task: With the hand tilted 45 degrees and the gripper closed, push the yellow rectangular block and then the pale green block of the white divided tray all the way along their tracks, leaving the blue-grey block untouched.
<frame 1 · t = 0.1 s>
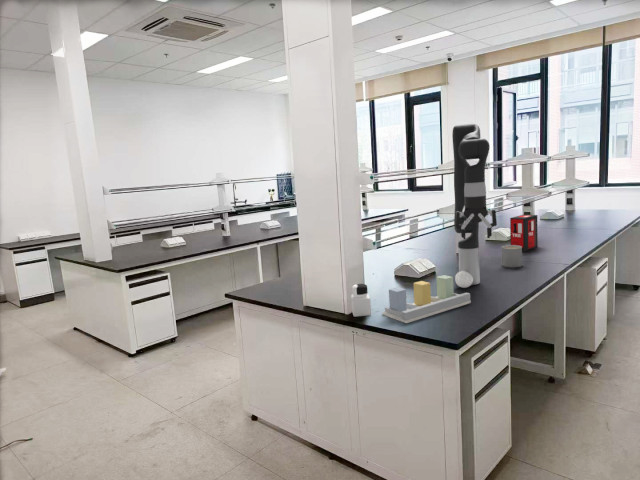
hand: (476, 238, 169), 29 cm above the worktop, tool pointing down, fingers open, 8 cm apart
yellow rectangular block: (422, 293, 185), point 6 cm above the worktop, slide at 0.0 cm
pale green block: (445, 287, 191), point 6 cm above the worktop, slide at 0.0 cm
cleaning product box: (524, 248, 283), on the worktop
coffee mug: (513, 264, 244), on the worktop
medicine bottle: (361, 313, 185), on the worktop
blue-grey block: (397, 300, 179), point 6 cm above the worktop, slide at 0.0 cm
crumpled paper ball: (463, 287, 209), on the worktop
white divided tray: (427, 308, 184), on the worktop
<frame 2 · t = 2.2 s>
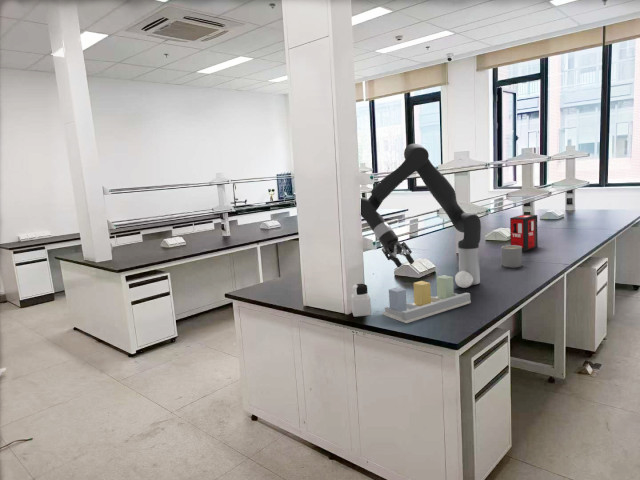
hand: (406, 264, 192), 17 cm above the worktop, tool tilted 45°, fingers open, 8 cm apart
nothing on the worktop moved.
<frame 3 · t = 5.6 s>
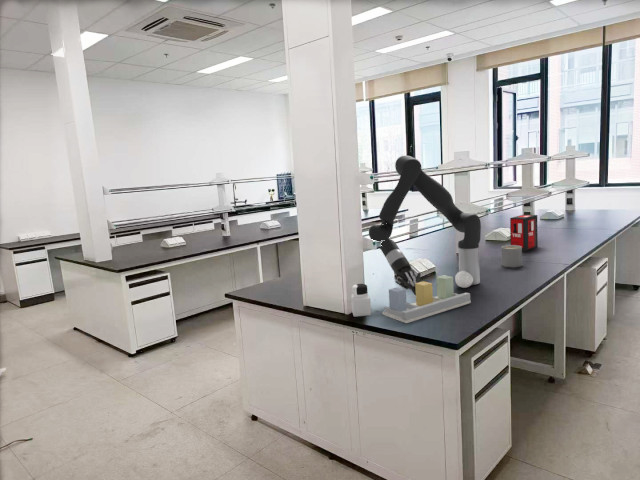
hand: (419, 294, 187), 5 cm above the worktop, tool tilted 45°, fingers closed
yellow rectangular block: (424, 294, 184), point 6 cm above the worktop, slide at 1.1 cm, touching gripper
everything else where it was.
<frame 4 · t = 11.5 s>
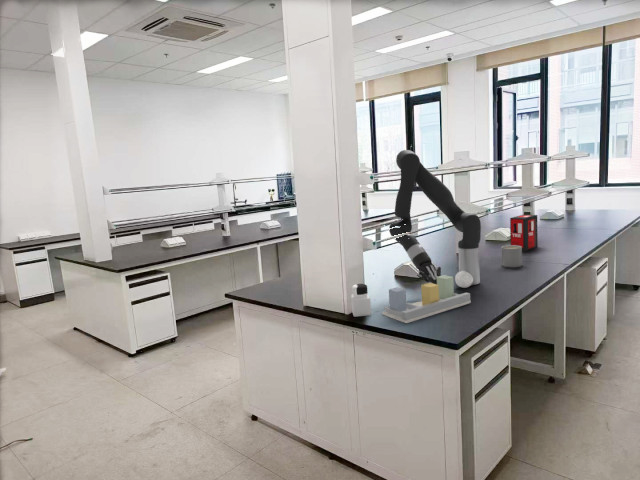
hand: (440, 288, 194), 5 cm above the worktop, tool tilted 45°, fingers closed
yellow rectangular block: (430, 295, 181), point 6 cm above the worktop, slide at 4.6 cm
pale green block: (445, 287, 191), point 6 cm above the worktop, slide at 0.1 cm, touching gripper
everything else where it was.
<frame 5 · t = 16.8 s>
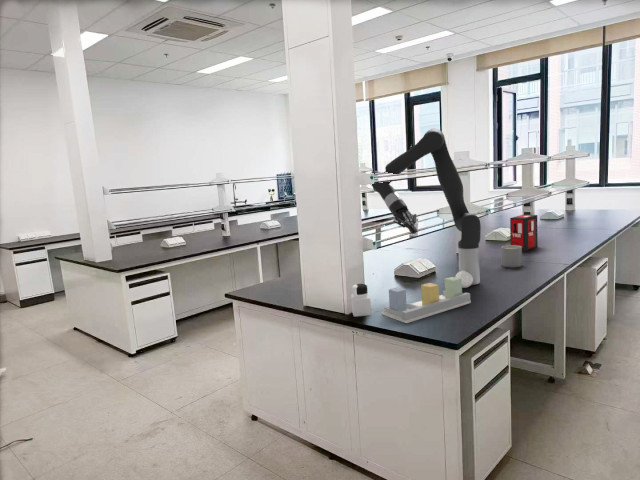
hand: (415, 232, 202), 28 cm above the worktop, tool tilted 45°, fingers closed
pale green block: (453, 289, 188), point 6 cm above the worktop, slide at 4.6 cm
everything else where it was.
at the end: yellow rectangular block slide at 4.6 cm; pale green block slide at 4.6 cm; blue-grey block slide at 0.0 cm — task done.
